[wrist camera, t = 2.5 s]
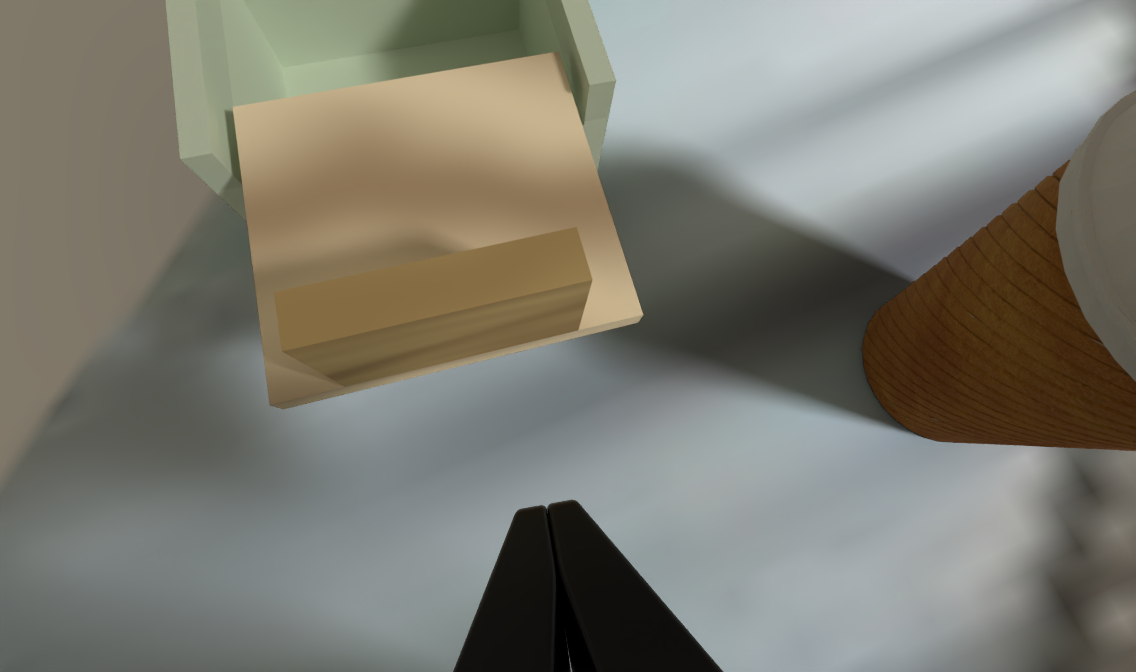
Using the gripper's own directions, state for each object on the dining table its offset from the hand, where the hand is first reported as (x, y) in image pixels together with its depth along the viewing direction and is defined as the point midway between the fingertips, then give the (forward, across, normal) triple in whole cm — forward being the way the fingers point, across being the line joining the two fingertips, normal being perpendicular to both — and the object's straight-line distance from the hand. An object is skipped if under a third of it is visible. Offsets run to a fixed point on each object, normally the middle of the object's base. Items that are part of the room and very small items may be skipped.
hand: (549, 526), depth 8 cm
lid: (+10, +2, -2) cm, 10 cm away
